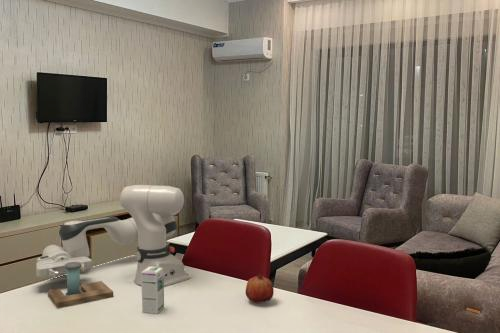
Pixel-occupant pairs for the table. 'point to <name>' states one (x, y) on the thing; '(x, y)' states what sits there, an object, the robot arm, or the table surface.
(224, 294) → the table surface
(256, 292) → the fruit
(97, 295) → the notched board
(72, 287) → the bobbin
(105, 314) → the table surface
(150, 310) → the syrup box
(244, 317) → the table surface
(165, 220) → the robot arm
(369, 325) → the table surface
